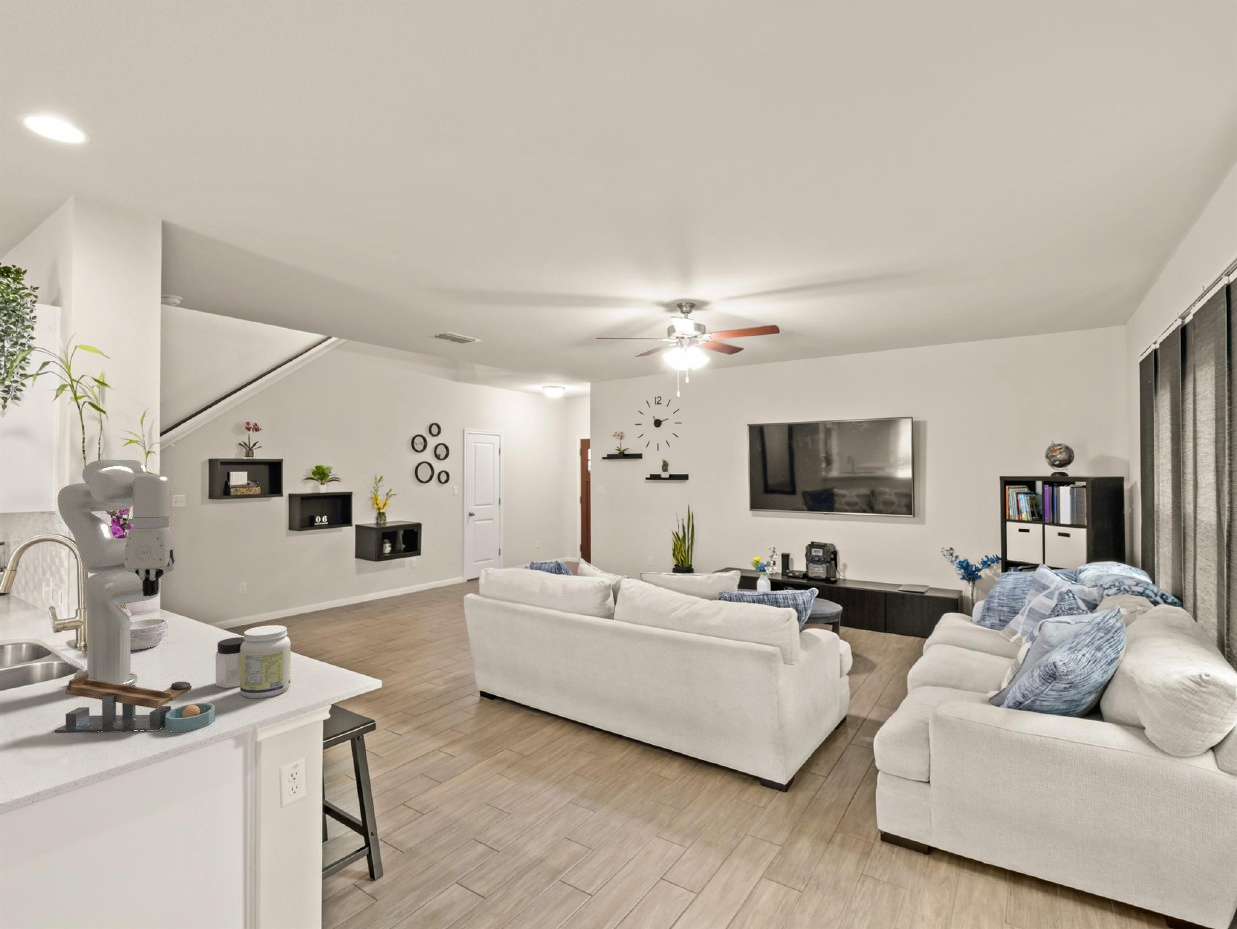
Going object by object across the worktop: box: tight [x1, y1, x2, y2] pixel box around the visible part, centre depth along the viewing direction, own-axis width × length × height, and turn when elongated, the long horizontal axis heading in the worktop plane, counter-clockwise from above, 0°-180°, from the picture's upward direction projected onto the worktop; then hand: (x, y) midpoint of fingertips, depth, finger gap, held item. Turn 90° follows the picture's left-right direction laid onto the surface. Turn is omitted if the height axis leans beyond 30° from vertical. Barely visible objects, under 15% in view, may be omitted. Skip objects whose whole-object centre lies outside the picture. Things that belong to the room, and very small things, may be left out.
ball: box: [182, 704, 200, 718], centre depth 155 cm, size 4×4×4 cm
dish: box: [165, 702, 216, 733], centre depth 155 cm, size 10×10×3 cm
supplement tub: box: [239, 624, 292, 699], centre depth 176 cm, size 12×12×17 cm
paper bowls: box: [130, 618, 169, 651], centre depth 217 cm, size 15×15×8 cm
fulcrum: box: [54, 684, 172, 734], centre depth 154 cm, size 23×8×8 cm, turn 93°
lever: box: [65, 673, 192, 710], centre depth 158 cm, size 22×13×3 cm, turn 93°
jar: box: [215, 636, 245, 689], centre depth 182 cm, size 9×8×12 cm
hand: (150, 594), depth 165 cm, fingers closed
